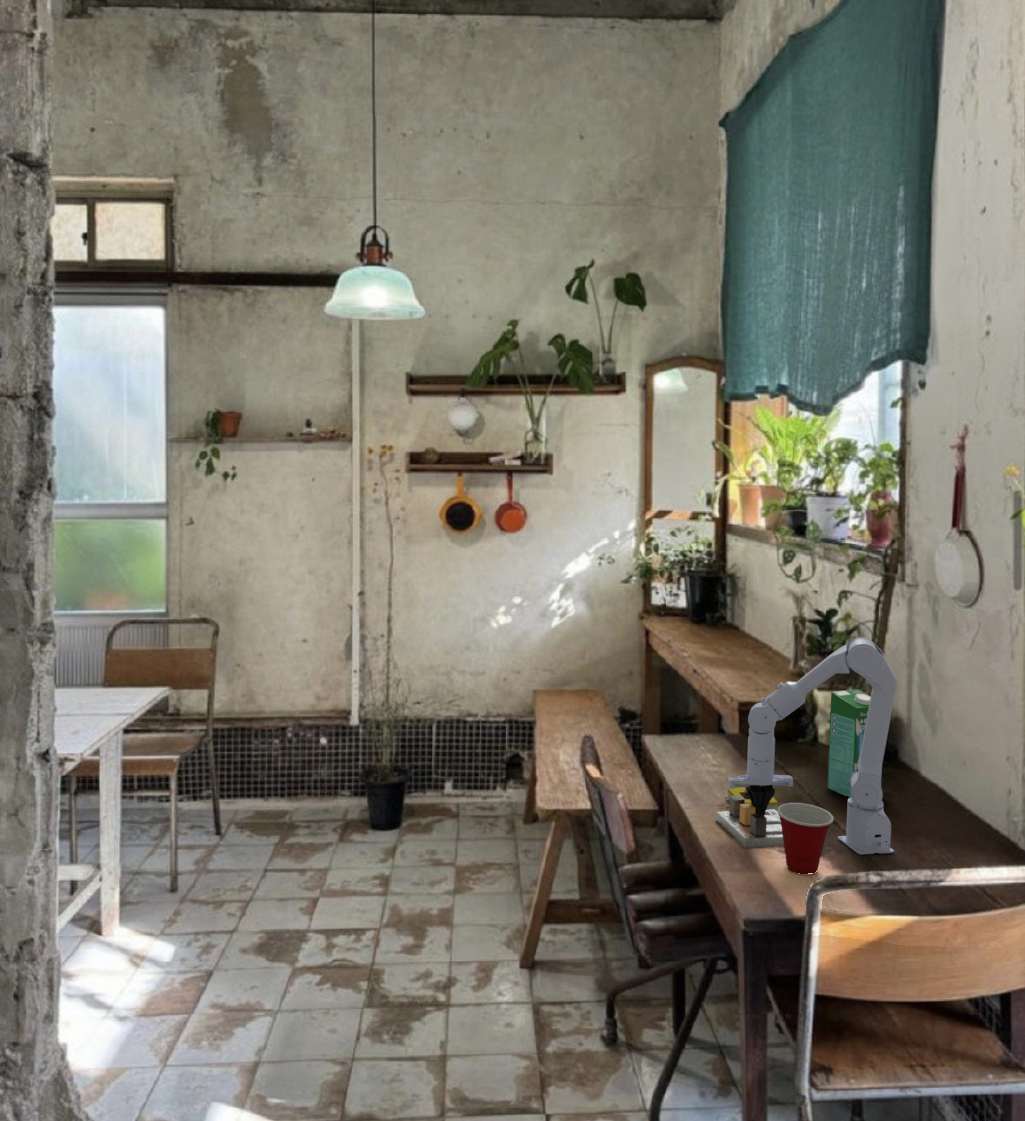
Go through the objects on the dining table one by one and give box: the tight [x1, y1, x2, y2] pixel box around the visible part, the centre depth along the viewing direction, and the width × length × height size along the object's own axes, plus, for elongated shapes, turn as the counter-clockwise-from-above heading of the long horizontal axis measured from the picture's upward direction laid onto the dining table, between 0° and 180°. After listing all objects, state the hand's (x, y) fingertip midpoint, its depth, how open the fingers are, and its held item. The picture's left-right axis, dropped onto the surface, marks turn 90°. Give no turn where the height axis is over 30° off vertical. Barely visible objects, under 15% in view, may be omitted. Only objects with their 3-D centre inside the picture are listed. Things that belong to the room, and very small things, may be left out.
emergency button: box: [724, 787, 778, 812], centre depth 234 cm, size 9×4×15 cm
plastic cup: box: [777, 802, 834, 875], centre depth 195 cm, size 11×11×12 cm
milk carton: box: [827, 688, 883, 798], centre depth 245 cm, size 9×9×25 cm
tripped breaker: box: [740, 804, 755, 825], centre depth 216 cm, size 3×2×4 cm
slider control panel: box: [716, 796, 784, 849], centre depth 216 cm, size 17×14×6 cm
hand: (758, 818), depth 216 cm, fingers closed
